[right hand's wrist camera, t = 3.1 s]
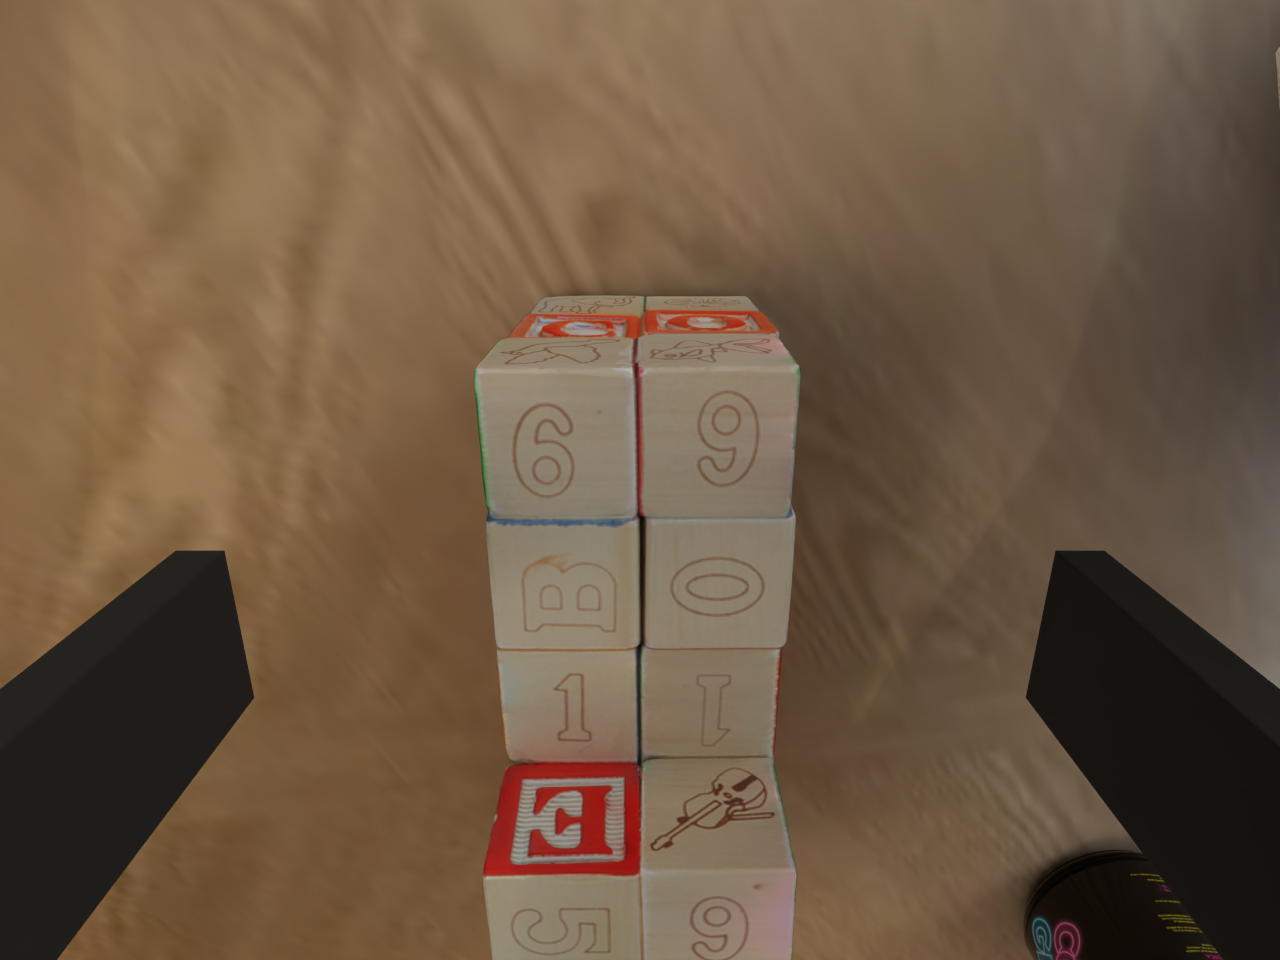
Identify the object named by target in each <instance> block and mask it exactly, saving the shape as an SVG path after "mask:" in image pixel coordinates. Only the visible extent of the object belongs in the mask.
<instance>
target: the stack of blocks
mask: <svg viewBox="0 0 1280 960" xmlns="http://www.w3.org/2000/svg"><path fill="white" fill-rule="evenodd" d="M800 377H801V371H800V367H799V365H798V364H797V363H796V361H795V359H794V358H793V356H792V355H791V354H790V353H789V351H788V350H787V349H786V348H785V347H784V346H783V344H782V342H781V341H780V340H779V332H778V330H777V329H776V328H775V326H774V325H773V324H772V323H771V321H770V320H769V319H768V318H767V317H766V316H765V315H764V313H761V312H760V310H759V309H758V308H757V307H756V306H755V305H754V304H753V303H752V302H751V301H750V299H749V298H748V297H745V296H652V297H643V296H612V295H599V296H560V297H546V298H543V299H541V300H540V301H539V302H538V303H537V304H536V305H535V306H534V308H533V310H532V311H531V312H530V314H528V315H526V316H524V317H523V319H522V320H521V322H520V323H519V324H518V326H517V327H516V328H515V329H514V330H513V331H512V333H511V334H510V336H509V337H508V338H507V339H502V340H499V342H498V343H497V344H496V345H495V346H494V348H493V349H492V350H491V351H490V352H489V353H488V354H487V356H486V357H485V358H484V359H483V360H482V361H481V362H480V364H479V365H478V366H477V367H476V369H475V371H474V390H475V398H476V408H477V420H478V430H479V440H480V450H481V463H482V476H483V485H484V491H485V499H486V505H487V509H488V516H487V520H486V543H487V553H488V564H489V576H490V586H491V597H492V607H493V617H494V628H495V640H496V644H497V671H498V685H499V694H500V703H501V711H502V720H503V730H504V740H505V747H506V751H507V754H508V756H509V758H510V759H509V763H508V765H507V766H506V768H505V772H504V777H503V781H502V784H501V788H500V796H499V801H498V805H497V809H496V814H495V818H494V820H493V826H492V831H491V835H490V840H489V846H488V851H487V855H486V859H485V864H484V869H483V875H482V876H483V886H484V894H485V902H486V910H487V918H488V926H489V935H490V944H491V952H492V960H792V949H793V932H794V917H795V899H796V882H797V870H796V865H795V861H794V856H793V852H792V847H791V842H790V837H789V832H788V827H787V822H786V818H785V813H784V808H783V803H782V798H781V793H780V788H779V783H778V778H777V774H776V770H775V765H774V761H773V756H774V752H775V737H776V723H777V709H778V695H779V682H780V670H781V653H782V647H783V646H784V645H785V644H786V640H787V631H788V620H789V610H790V599H791V588H792V573H793V558H794V542H795V527H796V516H795V513H794V511H793V508H792V506H791V498H792V488H793V475H794V460H795V446H796V433H797V416H798V407H799V391H800Z"/></svg>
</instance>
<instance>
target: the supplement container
mask: <svg viewBox="0 0 1280 960" xmlns="http://www.w3.org/2000/svg"><path fill="white" fill-rule="evenodd" d="M1024 937H1025V942H1026V946H1027V948H1028V950H1029V952H1030V954H1031V956H1032V958H1033V960H1223V959H1222V958H1221V956H1220V955H1219V954H1218V952H1217V951H1216V950H1215V948H1214V947H1213V946H1212V944H1211V943H1210V942H1209V940H1208V939H1207V938H1206V936H1205V935H1204V934H1203V932H1202V931H1201V930H1200V928H1199V927H1198V926H1197V924H1196V923H1195V922H1194V920H1193V919H1192V918H1191V916H1190V915H1189V914H1188V912H1187V911H1186V910H1185V908H1184V907H1183V906H1182V904H1181V903H1180V902H1179V900H1178V899H1177V898H1176V896H1175V895H1174V894H1173V892H1172V891H1171V890H1170V888H1169V887H1168V886H1167V884H1166V883H1165V882H1164V880H1163V879H1162V878H1161V876H1160V875H1159V874H1158V872H1157V871H1156V870H1155V868H1154V867H1153V866H1152V864H1151V863H1150V862H1149V861H1148V859H1147V858H1146V857H1145V855H1144V854H1143V853H1140V852H1134V851H1127V850H1107V851H1100V852H1095V853H1091V854H1087V855H1084V856H1081V857H1078V858H1076V859H1073V860H1071V861H1069V862H1067V863H1065V864H1063V865H1061V866H1060V867H1058V868H1057V869H1055V870H1054V871H1053V872H1051V873H1050V874H1049V875H1048V876H1047V877H1046V878H1044V879H1043V880H1042V882H1041V883H1040V884H1039V885H1038V886H1037V888H1036V889H1035V890H1034V892H1033V894H1032V895H1031V898H1030V900H1029V902H1028V904H1027V907H1026V910H1025V915H1024Z"/></svg>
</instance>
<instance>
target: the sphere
mask: <svg viewBox="0 0 1280 960" xmlns="http://www.w3.org/2000/svg"><path fill="white" fill-rule="evenodd" d="M1276 65H1277V79H1278V93H1279V107H1280V47H1279V49H1278V50H1277V52H1276Z"/></svg>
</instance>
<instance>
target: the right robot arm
mask: <svg viewBox="0 0 1280 960" xmlns="http://www.w3.org/2000/svg"><path fill="white" fill-rule="evenodd" d="M253 698H254V694H253V690H252V685H251V680H250V675H249V670H248V665H247V660H246V655H245V650H244V645H243V640H242V635H241V630H240V626H239V621H238V616H237V611H236V606H235V601H234V596H233V591H232V586H231V581H230V576H229V571H228V566H227V562H226V557H225V552H224V551H175V552H174V553H172V554H171V555H170V556H169V557H167V558H166V559H165V560H163V561H162V562H161V563H160V564H158V565H157V566H156V567H155V568H153V569H152V570H151V571H150V572H148V573H147V574H146V575H144V576H143V577H142V578H141V579H139V580H138V581H137V582H136V583H134V584H133V585H132V586H130V587H129V588H128V589H127V590H125V591H124V592H123V593H122V594H120V595H119V596H118V597H117V598H115V599H114V600H113V601H111V602H110V603H109V604H108V605H106V606H105V607H104V608H103V609H101V610H100V611H99V612H97V613H96V614H95V615H94V616H92V617H91V618H90V619H89V620H87V621H86V622H85V623H84V624H82V625H81V626H80V627H78V628H77V629H76V630H75V631H73V632H72V633H71V634H70V635H68V636H67V637H66V638H65V639H63V640H62V641H61V642H59V643H58V644H57V645H56V646H54V647H53V648H52V649H51V650H49V651H48V652H47V653H45V654H44V655H43V656H42V657H40V658H39V659H38V660H37V661H35V662H34V663H33V664H32V665H30V666H29V667H28V668H26V669H25V670H24V671H23V672H21V673H20V674H19V675H18V676H16V677H15V678H14V679H13V680H11V681H10V682H9V683H7V684H6V685H5V686H4V687H2V688H1V689H0V960H57V959H58V958H59V956H60V955H61V954H62V952H63V951H64V950H65V948H66V947H67V946H68V944H69V943H70V942H71V940H72V939H73V938H74V936H75V935H76V934H77V932H78V931H79V930H80V928H81V927H82V926H83V924H84V923H85V922H86V920H87V919H88V918H89V916H90V915H91V914H92V912H93V911H94V910H95V908H96V907H97V906H98V904H99V903H100V902H101V900H102V899H103V898H104V896H105V895H106V894H107V892H108V891H109V890H110V888H111V887H112V886H113V884H114V883H115V882H116V880H117V879H118V878H119V876H120V875H121V874H122V872H123V871H124V870H125V868H126V867H127V866H128V864H129V863H130V862H131V861H132V859H133V858H134V857H135V855H136V854H137V853H138V851H139V850H140V849H141V847H142V846H143V845H144V843H145V842H146V841H147V839H148V838H149V837H150V835H151V834H152V833H153V831H154V830H155V829H156V827H157V826H158V825H159V823H160V822H161V821H162V819H163V818H164V817H165V815H166V814H167V813H168V811H169V810H170V809H171V807H172V806H173V805H174V803H175V802H176V801H177V799H178V798H179V797H180V795H181V794H182V793H183V791H184V790H185V789H186V787H187V786H188V785H189V783H190V782H191V781H192V779H193V778H194V777H195V775H196V774H197V773H198V771H199V770H200V769H201V767H202V766H203V765H204V764H205V762H206V761H207V760H208V758H209V757H210V756H211V754H212V753H213V752H214V750H215V749H216V748H217V746H218V745H219V744H220V742H221V741H222V740H223V738H224V737H225V736H226V734H227V733H228V732H229V730H230V729H231V728H232V726H233V725H234V724H235V722H236V721H237V720H238V718H239V717H240V716H241V714H242V713H243V712H244V710H245V709H246V708H247V706H248V705H249V704H250V702H251V701H252V700H253ZM1026 698H1027V700H1028V701H1029V702H1030V704H1031V705H1032V706H1033V708H1034V709H1035V710H1036V712H1037V713H1038V714H1039V716H1040V717H1041V718H1042V720H1043V721H1044V722H1045V724H1046V725H1047V726H1048V728H1049V729H1050V730H1051V732H1052V733H1053V734H1054V736H1055V737H1056V738H1057V740H1058V741H1059V742H1060V744H1061V745H1062V746H1063V748H1064V749H1065V750H1066V752H1067V753H1068V754H1069V756H1070V757H1071V758H1072V760H1073V761H1074V762H1075V764H1076V765H1077V766H1078V767H1079V769H1080V770H1081V771H1082V773H1083V774H1084V775H1085V777H1086V778H1087V779H1088V781H1089V782H1090V783H1091V785H1092V786H1093V787H1094V789H1095V790H1096V791H1097V793H1098V794H1099V795H1100V797H1101V798H1102V799H1103V801H1104V802H1105V803H1106V805H1107V806H1108V807H1109V809H1110V810H1111V811H1112V813H1113V814H1114V815H1115V817H1116V818H1117V819H1118V821H1119V822H1120V823H1121V825H1122V826H1123V827H1124V829H1125V830H1126V831H1127V833H1128V834H1129V835H1130V837H1131V838H1132V839H1133V841H1134V842H1135V843H1136V845H1137V846H1138V847H1139V849H1140V850H1141V851H1142V853H1143V854H1144V855H1145V857H1146V858H1147V859H1148V861H1149V862H1150V863H1151V864H1152V866H1153V867H1154V868H1155V870H1156V871H1157V872H1158V874H1159V875H1160V876H1161V878H1162V879H1163V880H1164V882H1165V883H1166V884H1167V886H1168V887H1169V888H1170V890H1171V891H1172V892H1173V894H1174V895H1175V896H1176V898H1177V899H1178V900H1179V902H1180V903H1181V904H1182V906H1183V907H1184V908H1185V910H1186V911H1187V912H1188V914H1189V915H1190V916H1191V918H1192V919H1193V920H1194V922H1195V923H1196V924H1197V926H1198V927H1199V928H1200V930H1201V931H1202V932H1203V934H1204V935H1205V936H1206V938H1207V939H1208V940H1209V942H1210V943H1211V944H1212V946H1213V947H1214V948H1215V950H1216V951H1217V952H1218V954H1219V955H1220V956H1221V958H1222V959H1223V960H1280V689H1279V688H1278V687H1276V686H1275V685H1274V684H1273V683H1271V682H1270V681H1269V680H1267V679H1266V678H1265V677H1264V676H1262V675H1261V674H1260V673H1259V672H1257V671H1256V670H1255V669H1254V668H1252V667H1251V666H1250V665H1248V664H1247V663H1246V662H1245V661H1243V660H1242V659H1241V658H1240V657H1238V656H1237V655H1236V654H1235V653H1233V652H1232V651H1231V650H1229V649H1228V648H1227V647H1226V646H1224V645H1223V644H1222V643H1221V642H1219V641H1218V640H1217V639H1215V638H1214V637H1213V636H1212V635H1210V634H1209V633H1208V632H1207V631H1205V630H1204V629H1203V628H1202V627H1200V626H1199V625H1198V624H1196V623H1195V622H1194V621H1193V620H1191V619H1190V618H1189V617H1188V616H1186V615H1185V614H1184V613H1183V612H1181V611H1180V610H1179V609H1177V608H1176V607H1175V606H1174V605H1172V604H1171V603H1170V602H1169V601H1167V600H1166V599H1165V598H1163V597H1162V596H1161V595H1160V594H1158V593H1157V592H1156V591H1155V590H1153V589H1152V588H1151V587H1150V586H1148V585H1147V584H1146V583H1144V582H1143V581H1142V580H1141V579H1139V578H1138V577H1137V576H1136V575H1134V574H1133V573H1132V572H1130V571H1129V570H1128V569H1127V568H1125V567H1124V566H1123V565H1122V564H1120V563H1119V562H1118V561H1117V560H1115V559H1114V558H1113V557H1111V556H1110V555H1109V554H1108V553H1106V552H1105V551H1056V552H1055V557H1054V562H1053V566H1052V571H1051V576H1050V581H1049V586H1048V591H1047V596H1046V601H1045V606H1044V611H1043V616H1042V621H1041V626H1040V630H1039V635H1038V640H1037V645H1036V650H1035V655H1034V660H1033V665H1032V670H1031V675H1030V680H1029V685H1028V690H1027V694H1026Z"/></svg>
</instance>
